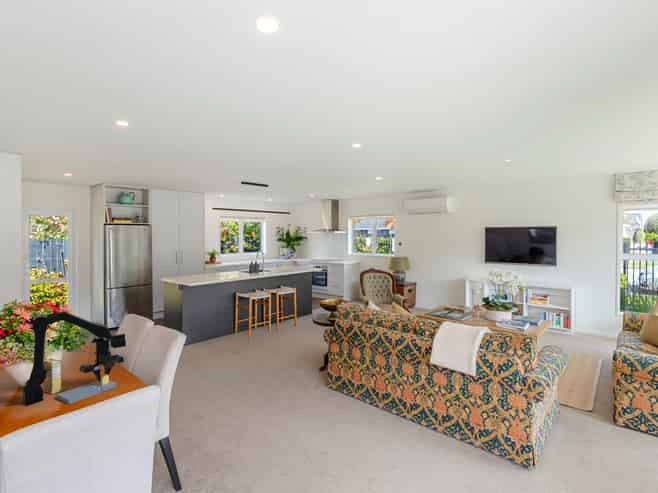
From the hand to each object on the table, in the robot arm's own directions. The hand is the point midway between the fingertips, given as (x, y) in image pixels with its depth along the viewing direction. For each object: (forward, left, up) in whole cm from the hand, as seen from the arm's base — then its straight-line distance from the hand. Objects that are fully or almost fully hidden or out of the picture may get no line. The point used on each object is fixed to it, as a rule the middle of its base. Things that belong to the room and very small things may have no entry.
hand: (102, 380), depth 177 cm
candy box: (-15, +18, -4) cm, 24 cm away
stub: (0, 0, -3) cm, 3 cm away
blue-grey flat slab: (-11, 0, -4) cm, 11 cm away
